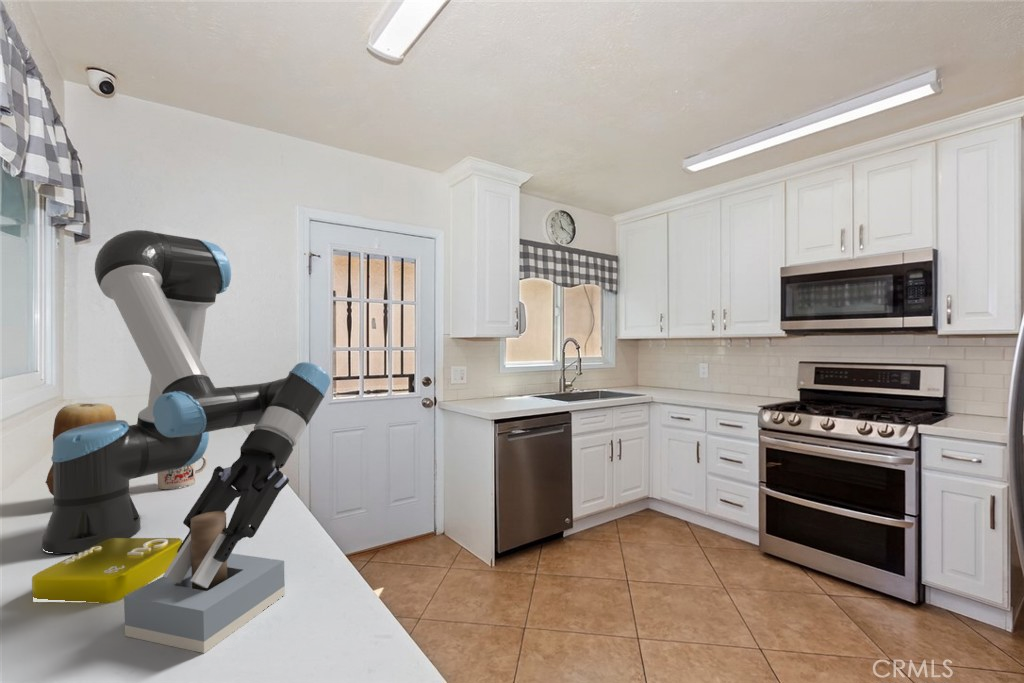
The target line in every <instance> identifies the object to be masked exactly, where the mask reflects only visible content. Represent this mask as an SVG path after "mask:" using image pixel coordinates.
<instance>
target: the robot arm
mask: <svg viewBox="0 0 1024 683" xmlns="http://www.w3.org/2000/svg"><path fill="white" fill-rule="evenodd" d="M231 268H232V267H231V264H230V260H229V258H228V256H227V254H226V252H225V251H224V250H223V249H222V248H221V247H220V246H219V245H218V244H216V243H213V242H209V241H205V240H203V239H202V240H201V239H199V238H191V237H187V236H186V237H184V236H178V235H172V234H167V233H160V232H154V231H152V230H143V229H142V230H141V229H140V230H139V229H135V230H127V231H124V232H121V233H118V234H116V235H115V236H113V237H112V238H110V239H109V240H107V241H106V242H105V243H104V244H103V245H102V247H101V248H100V249H99V251H98V253H97V255H96V258H95V262H94V275H95V278H96V283H97V284H98V286H99V288H100V290H101V292H102V294H103V295H104V296H106V297H107V298H108V299H111V300H113V302H114V303H115V305H116V307H117V310H118V311H119V313H120V315H121V317H122V319H123V321H124V323H125V326H126V328H127V330H128V331H129V333H130V335H131V338H132V340H133V341H134V343H135V345H136V347H137V349H138V352H139V353H140V355H141V357H142V360H143V361H144V363H145V365H146V367H147V369H148V371H149V373H150V375H151V376H150V386H149V392H148V402H147V406H146V407H144V408H143V409H142V410H139V412H138V414H137V422H136V424H131V425H130V424H129V423H128V422H127V420H120V419H119V420H117V419H116V420H114V421H107V422H99V423H94V424H89V425H85V426H81V427H77V428H73V429H70V430H68V431H65V432H63V433H61V434H60V435H58V436H57V437H56V438H55V440H54V443H53V442H52V455H51V458H50V459H51V461H52V464H53V489H54V496H53V510H52V512H51V514H50V517H49V520H48V522H47V525H46V527H45V530H44V533H43V536H42V539H41V547H42V548H43V549H44V550H45V551H48V552H53V553H70V554H75V553H74V552H77V553H80V552H82V551H84V550H86V549H88V548H90V547H92V546H95V545H97V544H99V543H101V542H103V541H105V540H108V539H111V538H132V537H133V536H134V535H136V534H137V533H138V532H139V531H140V530H141V517H140V514H139V511H138V510H137V507H136V506H135V503H134V501H133V499H132V497H131V495H130V480H132V479H137V478H142V477H146V476H151V475H155V474H158V473H160V472H164V471H168V470H176V469H179V468H182V467H184V466H187V465H191V464H193V463H195V464H196V462H197V461H199V460H200V459H202V458H201V457H202V456H204V454H205V452H206V450H207V449H208V446H209V439H210V433H209V432H215V431H218V430H219V431H220V430H225V429H232V428H237V427H238V428H239V427H243V426H249V425H254V427H253V430H251V431H250V432H249V434H248V436H247V437H246V439H245V440H244V441H243V443H242V445H241V446H240V455H239V457H238V458H237V459H236V461H234V462H233V463H232V464H231V466H228V467H225V468H223V467H222V466H221V465H218V466H216V467H215V468H214V469H213V473H212V476H211V478H210V480H209V482H208V483H207V484H206V486H205V487H204V489H203V491H202V492H201V493H200V495H199V496H198V498H197V500H196V502H195V503H194V504H193V506H192V507H191V509H190V510H189V511H188V514H187V515H186V516H185V518H184V520H183V521H182V523H183V525H184V526H186V527H187V528H188V529H189V531H188V533H187V534H186V536H185V538H184V539H183V540H182V544H181V545H180V547H179V548H178V551H177V553H178V554H177V555H176V557H175V558H174V560H173V561H172V563H171V564H170V566H169V567H168V569H167V570H166V572H165V573H164V574H162V577H165V578H167V579H169V580H171V581H173V582H176V583H181V581H182V580H183V578H184V577H185V575H186V573H187V572H188V570H189V569H190V567H191V519H192V518H193V517H195V516H197V515H200V514H203V513H207V512H214V511H223V512H225V513H226V511H227V510H228V508H229V507H230V506H231V504H232V503H233V502H234V501H235V500H236V499H237V498H239V499H238V502H237V503H236V506H235V508H234V511H233V513H232V515H231V518H230V520H229V523H228V524H227V526H226V528H224V529H223V530H222V531H223V532H224V533H225V534H227V535H226V536H225V535H224V534H219V535H218V537H217V538H216V540H215V541H214V543H213V544H212V546H211V548H210V549H209V551H208V553H207V554H206V556H205V558H204V559H203V561H202V562H201V564H200V566H199V567H198V569H197V571H196V572H195V574H194V575H193V577H192V579H191V580H190V581H192V582H194V583H196V584H197V585H199V586H201V587H203V588H208V586H209V585H210V583H211V581H212V579H213V578H214V576H215V574H216V573H217V571H218V569H219V567H220V566H221V564H222V562H225V561H226V560H227V559H228V557H229V556H230V554H231V553H232V552H233V551H234V549H235V547H236V545H237V544H238V542H239V541H241V540H242V539H244V538H245V539H246V538H249V539H252V538H253V537H254V536H255V535H256V533H257V531H258V530H259V528H260V526H261V525H262V523H263V521H264V520H265V518H266V516H267V514H268V513H269V511H270V509H271V507H272V506H273V504H274V502H275V500H276V499H277V497H278V495H279V494H280V492H281V491H282V490H283V489H284V488H285V487H286V486H287V484H289V481H290V479H289V478H288V477H287V475H286V474H284V473H283V472H282V471H281V470H280V469H282V468H283V467H284V466H285V465H286V464H287V461H288V460H289V458H290V457H291V454H292V453H293V451H294V447H296V445H297V444H298V442H299V440H300V439H301V436H302V435H303V433H304V432H305V430H306V428H307V426H308V424H310V421H311V419H312V418H313V416H314V415H315V413H316V411H317V410H318V408H319V406H320V405H321V404H322V401H323V399H324V398H325V397H326V393H327V391H328V389H329V387H330V385H331V377H330V375H329V374H328V372H326V371H325V370H324V369H323V368H322V367H321V366H319V365H317V364H315V363H313V362H312V363H311V362H306V361H305V362H303V361H302V362H299V363H297V364H295V365H294V367H293V368H291V370H290V371H289V372H288V375H287V376H286V377H285V378H284V377H283V378H280V379H277V380H273V381H269V382H268V381H267V382H264V383H263V382H262V383H255V384H246V385H245V384H244V385H236V386H235V385H234V386H223V387H215V385H214V383H213V381H212V380H211V378H210V377H209V376H210V375H208V373H207V371H206V369H205V366H204V365H203V363H202V362H201V353H202V345H203V337H204V331H205V330H204V329H205V323H206V314H207V309H208V308H210V307H211V306H212V305H214V304H216V297H217V295H220V294H223V293H225V292H226V291H227V289H228V287H229V286H230V284H231V280H232V269H231ZM42 548H41V549H42Z"/></svg>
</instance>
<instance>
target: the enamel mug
mask: <svg viewBox="0 0 1024 683" xmlns="http://www.w3.org/2000/svg"><path fill="white" fill-rule="evenodd" d="M200 459H202V460H203V462H202V465H201V467H200V468H198V469H197V470H196V462H195V463H193V464H191V465H187V466H184V467H182V468H179V469H176V470H168V471H164V472H160V473H157V488H158V489H159V490H162V489H171V490H175V489H174V488H179V487H183V488H185V487H184V486H187V485H190V484H192V485H194V484H195V483H196V474H198V473H199V474H200V473H201V472H203V471H204V470H205V469H206V467H207V464H208V460H207V457H206V456H204V455H203V456H202V457H201V458H200ZM193 483H194V484H193ZM190 486H191V485H190ZM187 487H188V486H187ZM179 489H180V488H179Z"/></svg>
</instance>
